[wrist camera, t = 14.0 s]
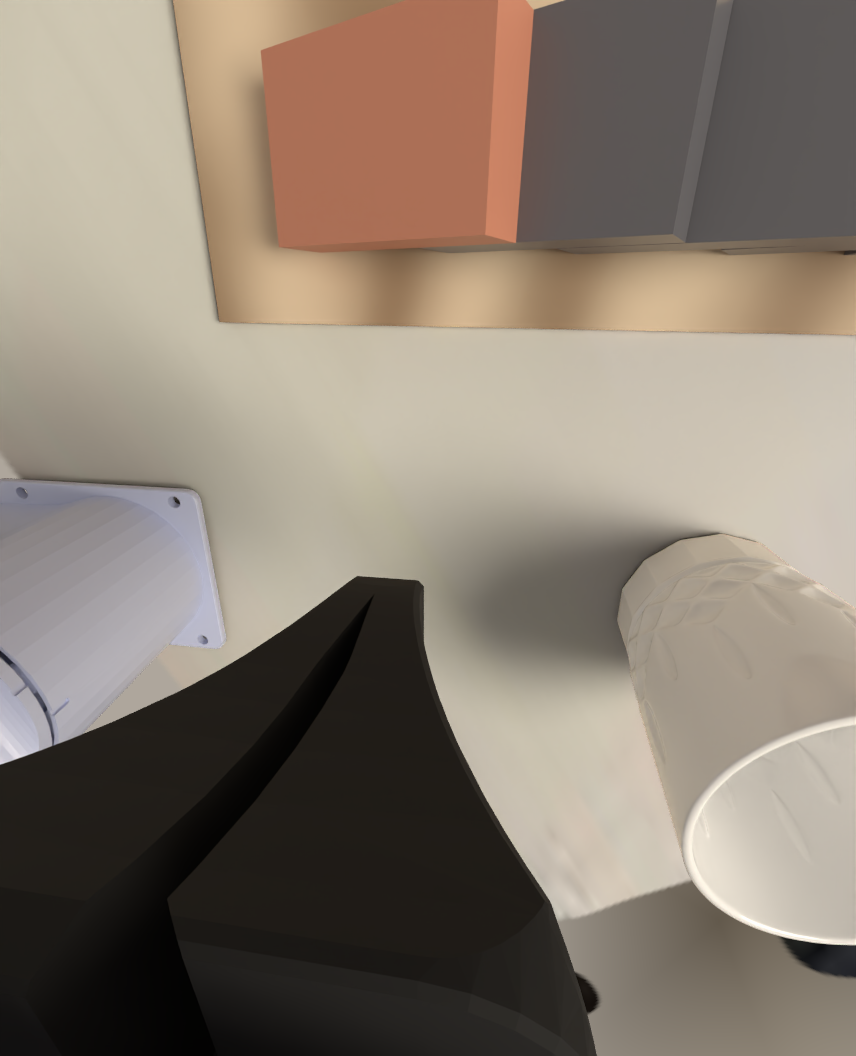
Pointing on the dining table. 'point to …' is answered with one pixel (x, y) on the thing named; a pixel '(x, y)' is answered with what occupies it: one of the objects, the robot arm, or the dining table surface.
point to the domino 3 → (850, 252)
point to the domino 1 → (615, 121)
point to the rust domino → (401, 127)
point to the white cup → (751, 729)
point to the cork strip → (437, 277)
